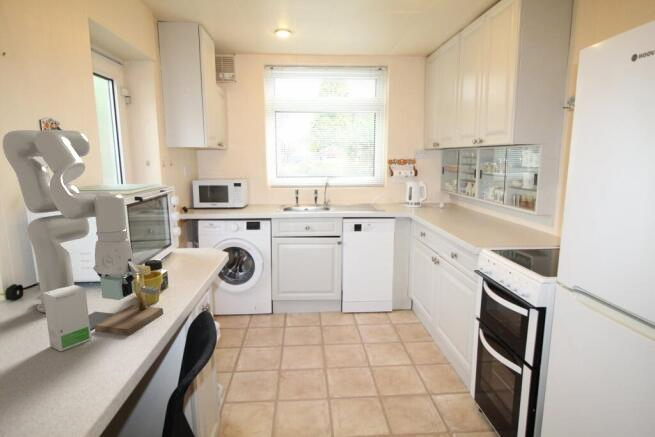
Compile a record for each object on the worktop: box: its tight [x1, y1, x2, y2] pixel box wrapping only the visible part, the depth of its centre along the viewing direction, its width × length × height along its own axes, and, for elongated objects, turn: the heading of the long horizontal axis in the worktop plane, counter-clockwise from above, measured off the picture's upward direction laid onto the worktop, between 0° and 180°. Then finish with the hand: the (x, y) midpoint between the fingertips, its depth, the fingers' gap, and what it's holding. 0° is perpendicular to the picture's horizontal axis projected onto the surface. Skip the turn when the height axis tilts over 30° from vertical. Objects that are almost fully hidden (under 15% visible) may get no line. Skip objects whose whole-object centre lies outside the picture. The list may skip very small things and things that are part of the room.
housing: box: [94, 304, 164, 336], centre depth 116 cm, size 12×15×2 cm
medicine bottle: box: [144, 258, 170, 294], centre depth 142 cm, size 7×7×12 cm
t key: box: [131, 263, 159, 310], centre depth 119 cm, size 2×11×14 cm, turn 68°
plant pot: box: [133, 271, 163, 306], centre depth 131 cm, size 10×10×10 cm
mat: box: [88, 311, 115, 332], centre depth 116 cm, size 9×11×1 cm
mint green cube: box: [100, 274, 135, 301], centre depth 111 cm, size 6×6×6 cm
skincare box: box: [43, 284, 92, 352], centre depth 103 cm, size 8×7×16 cm
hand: (118, 293), depth 112 cm, fingers closed on mint green cube, 6 cm apart
